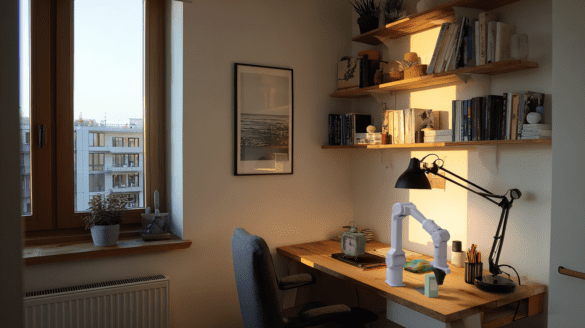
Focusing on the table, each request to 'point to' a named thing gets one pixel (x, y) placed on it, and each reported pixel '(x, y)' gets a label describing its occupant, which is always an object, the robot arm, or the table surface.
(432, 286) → the sage block
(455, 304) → the table surface
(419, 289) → the mat
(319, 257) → the table surface
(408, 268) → the puzzle game
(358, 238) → the tabletop clock
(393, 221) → the robot arm
